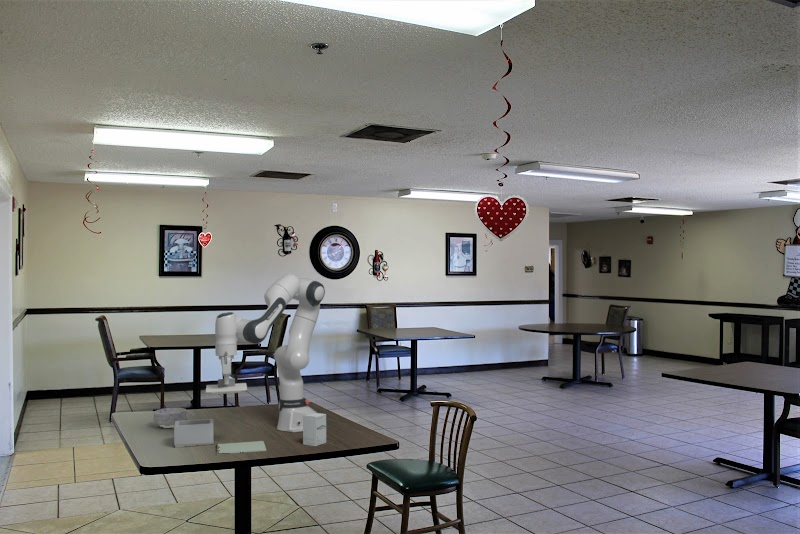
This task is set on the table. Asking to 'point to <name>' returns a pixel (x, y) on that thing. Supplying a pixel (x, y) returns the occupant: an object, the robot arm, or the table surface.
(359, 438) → the table surface
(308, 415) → the supplement box
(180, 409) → the paper bowls
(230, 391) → the lid
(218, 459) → the table surface
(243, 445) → the mat
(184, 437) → the storage box
